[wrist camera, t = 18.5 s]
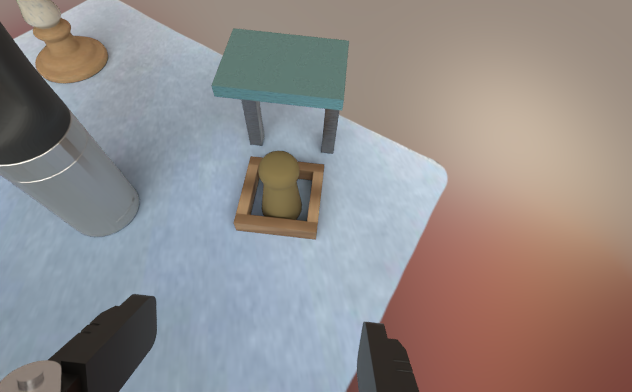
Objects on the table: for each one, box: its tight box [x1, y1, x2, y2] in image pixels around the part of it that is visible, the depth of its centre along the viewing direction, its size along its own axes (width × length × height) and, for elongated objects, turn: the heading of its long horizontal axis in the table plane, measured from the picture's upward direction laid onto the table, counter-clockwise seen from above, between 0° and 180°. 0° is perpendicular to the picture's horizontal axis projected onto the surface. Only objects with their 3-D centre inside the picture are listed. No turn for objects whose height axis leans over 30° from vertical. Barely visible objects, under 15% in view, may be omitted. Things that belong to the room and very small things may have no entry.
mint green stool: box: [212, 29, 349, 154], centre depth 46 cm, size 10×14×20 cm
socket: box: [234, 156, 324, 239], centre depth 50 cm, size 12×12×2 cm
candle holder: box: [16, 0, 108, 83], centre depth 55 cm, size 12×12×20 cm
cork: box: [258, 151, 302, 220], centre depth 45 cm, size 6×6×11 cm
